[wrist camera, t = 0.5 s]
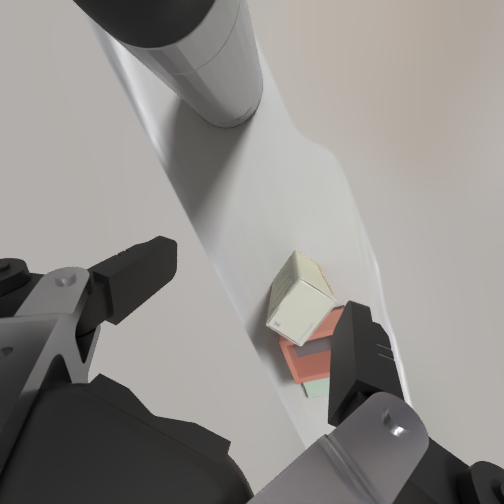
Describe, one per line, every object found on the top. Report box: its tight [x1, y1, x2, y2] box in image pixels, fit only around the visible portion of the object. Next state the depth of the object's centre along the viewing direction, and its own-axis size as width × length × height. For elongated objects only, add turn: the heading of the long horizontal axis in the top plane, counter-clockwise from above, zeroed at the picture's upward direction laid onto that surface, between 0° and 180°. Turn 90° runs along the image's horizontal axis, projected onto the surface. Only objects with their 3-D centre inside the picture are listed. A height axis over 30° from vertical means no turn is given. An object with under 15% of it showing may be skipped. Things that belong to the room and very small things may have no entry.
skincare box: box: [266, 251, 337, 346], centre depth 28 cm, size 6×4×12 cm
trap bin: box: [279, 305, 345, 384], centre depth 33 cm, size 7×10×5 cm
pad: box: [303, 377, 330, 398], centre depth 37 cm, size 6×10×1 cm, turn 112°
